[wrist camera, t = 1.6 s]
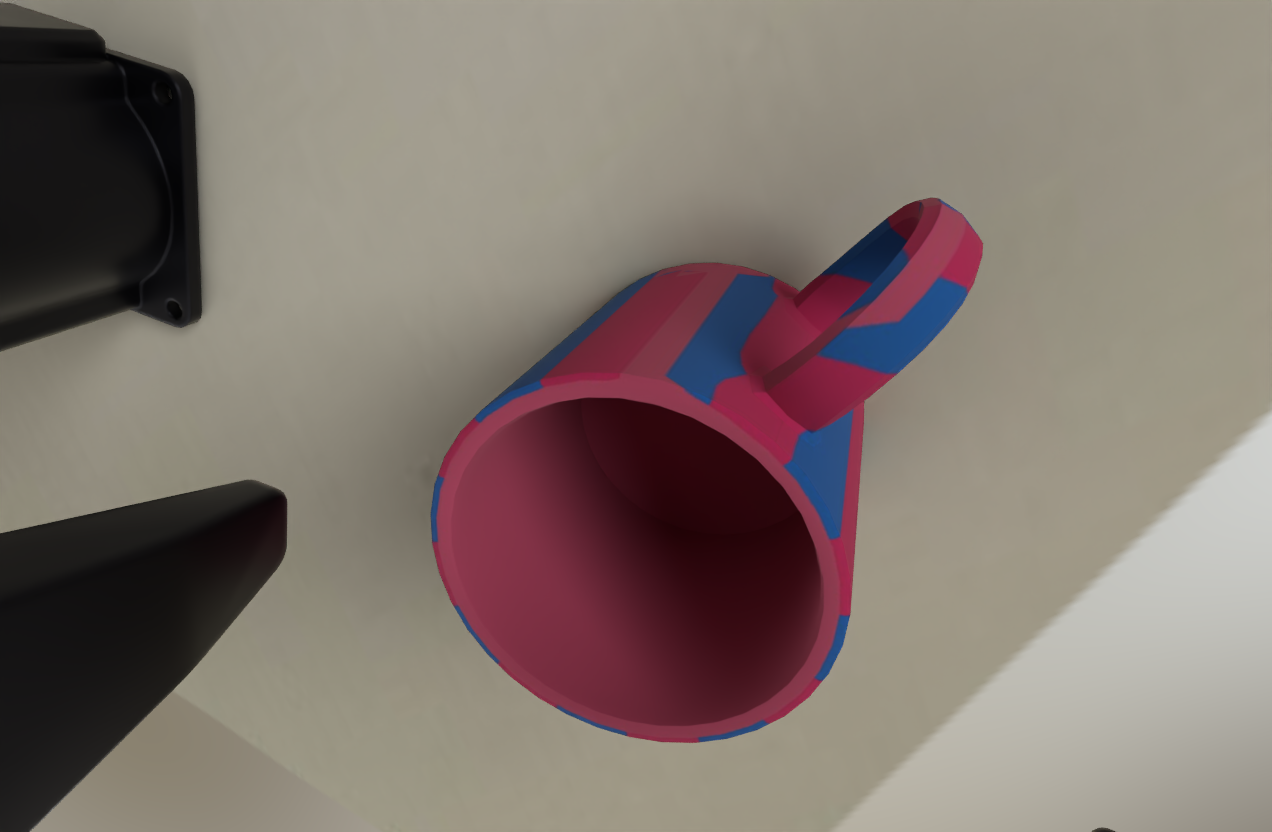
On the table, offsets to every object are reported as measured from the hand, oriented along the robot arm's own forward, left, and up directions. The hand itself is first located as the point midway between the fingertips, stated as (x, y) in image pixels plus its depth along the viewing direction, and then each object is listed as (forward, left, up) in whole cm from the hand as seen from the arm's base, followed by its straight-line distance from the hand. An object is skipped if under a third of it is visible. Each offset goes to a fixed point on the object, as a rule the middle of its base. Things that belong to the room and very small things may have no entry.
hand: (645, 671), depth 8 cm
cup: (0, 0, -10) cm, 10 cm away
